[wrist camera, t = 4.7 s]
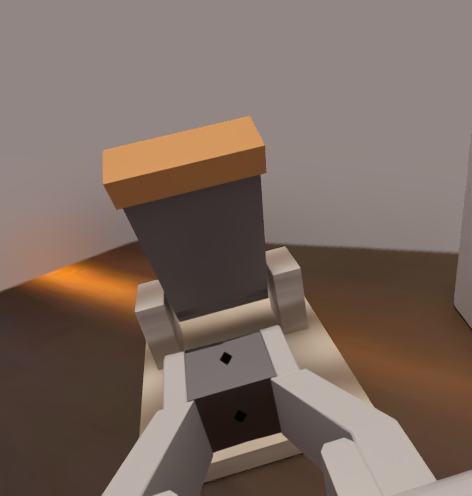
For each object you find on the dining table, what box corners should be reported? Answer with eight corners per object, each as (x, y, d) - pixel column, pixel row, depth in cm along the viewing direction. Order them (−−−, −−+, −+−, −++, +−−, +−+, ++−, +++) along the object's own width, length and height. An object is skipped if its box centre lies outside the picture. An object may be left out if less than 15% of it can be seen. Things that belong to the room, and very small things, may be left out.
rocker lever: (272, 301, 27) (264, 145, 16) (177, 327, 27) (103, 184, 16) (262, 274, 29) (249, 116, 18) (172, 298, 28) (102, 150, 17)
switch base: (377, 429, 21) (376, 340, 18) (144, 501, 20) (98, 420, 17) (280, 268, 39) (271, 208, 36) (154, 301, 38) (132, 243, 35)
